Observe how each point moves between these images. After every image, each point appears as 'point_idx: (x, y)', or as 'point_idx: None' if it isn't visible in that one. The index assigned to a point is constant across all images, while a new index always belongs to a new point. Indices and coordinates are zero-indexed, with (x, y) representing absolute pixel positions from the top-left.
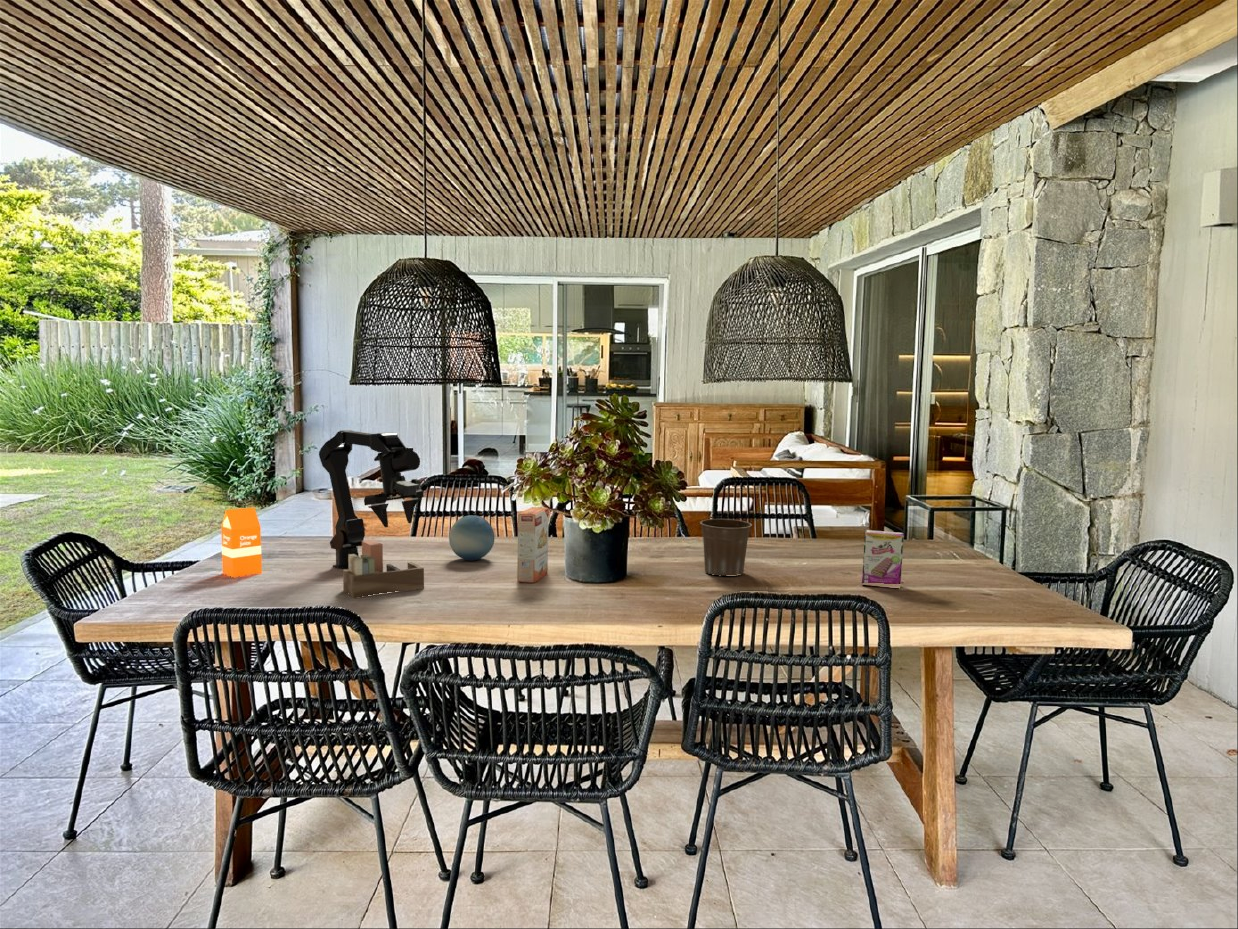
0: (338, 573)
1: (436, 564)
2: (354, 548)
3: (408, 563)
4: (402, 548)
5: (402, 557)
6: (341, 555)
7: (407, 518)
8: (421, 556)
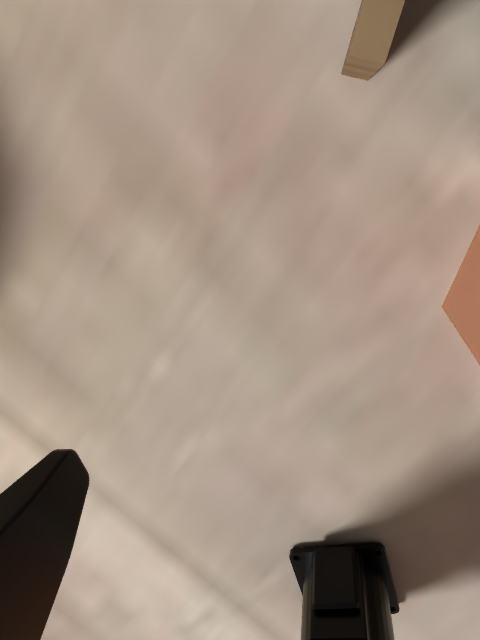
0: (463, 518)
1: (16, 334)
2: (334, 636)
3: (392, 37)
4: None
5: (81, 530)
6: (392, 630)
7: (60, 545)
8: None
